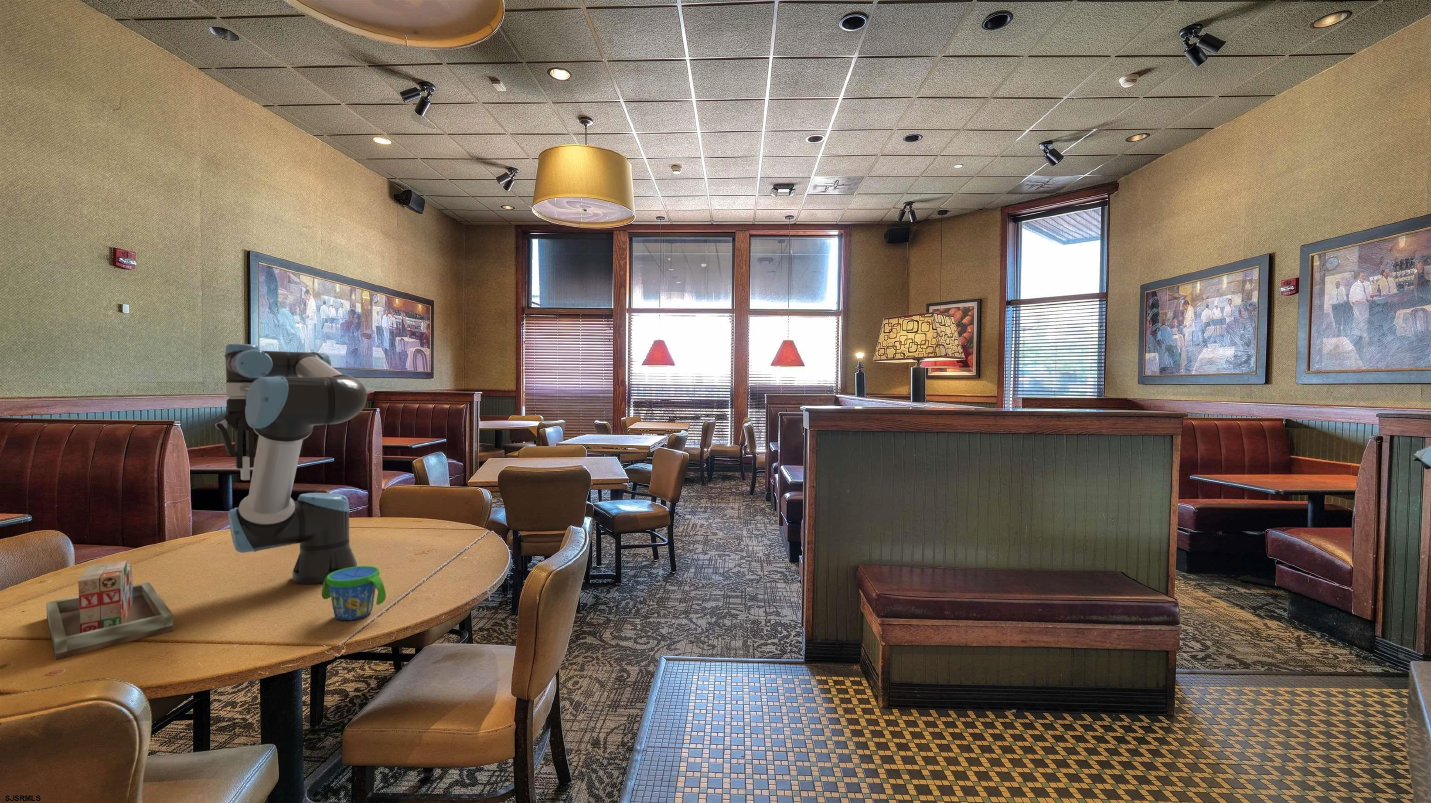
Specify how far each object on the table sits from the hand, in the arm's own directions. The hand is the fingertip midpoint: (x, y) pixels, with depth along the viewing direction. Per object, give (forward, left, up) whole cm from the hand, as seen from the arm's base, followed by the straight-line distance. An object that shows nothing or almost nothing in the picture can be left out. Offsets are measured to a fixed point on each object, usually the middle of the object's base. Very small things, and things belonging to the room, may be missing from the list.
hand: (245, 479), depth 166 cm
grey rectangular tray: (+5, +37, -26) cm, 46 cm away
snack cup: (-47, +37, -27) cm, 66 cm away
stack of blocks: (+5, +37, -25) cm, 45 cm away
